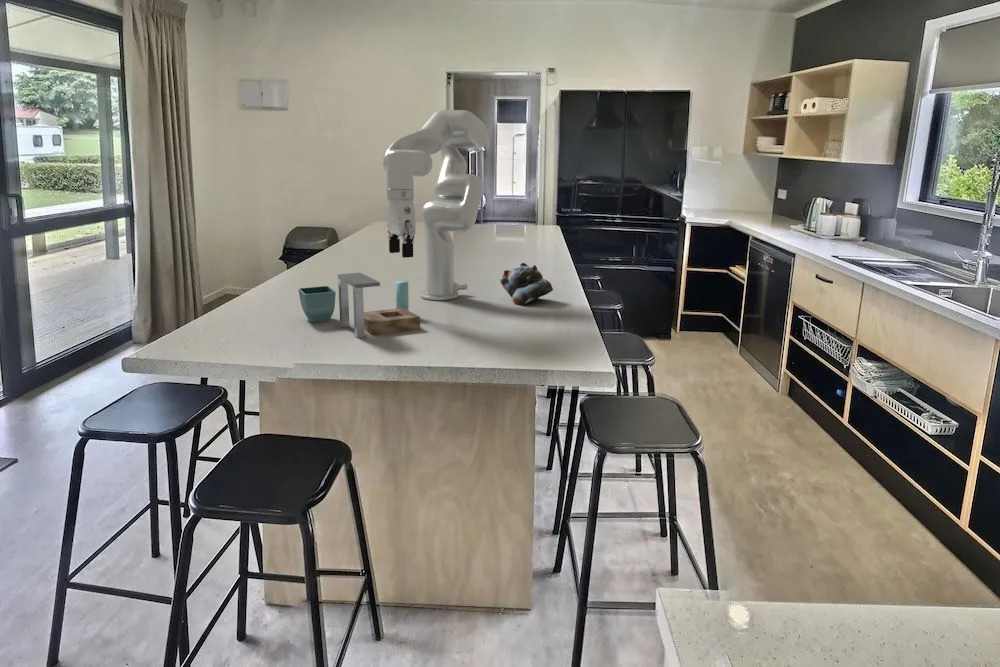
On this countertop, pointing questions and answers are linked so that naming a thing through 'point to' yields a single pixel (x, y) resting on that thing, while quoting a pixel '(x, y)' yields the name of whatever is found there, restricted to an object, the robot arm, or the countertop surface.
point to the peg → (402, 295)
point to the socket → (390, 321)
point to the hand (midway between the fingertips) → (401, 254)
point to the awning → (358, 284)
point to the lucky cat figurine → (525, 284)
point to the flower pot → (317, 302)
